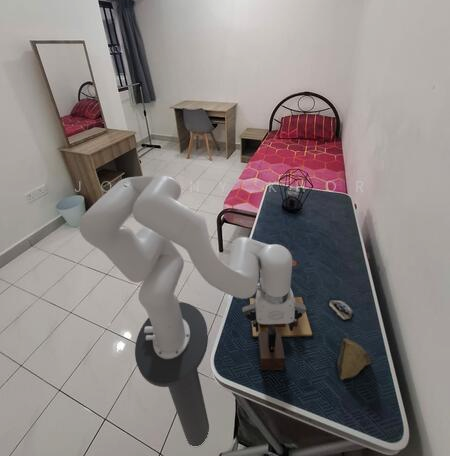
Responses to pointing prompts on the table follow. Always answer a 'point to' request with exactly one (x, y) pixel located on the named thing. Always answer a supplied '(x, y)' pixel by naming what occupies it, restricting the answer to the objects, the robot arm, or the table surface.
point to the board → (300, 330)
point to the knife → (271, 337)
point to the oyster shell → (341, 309)
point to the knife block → (270, 359)
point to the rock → (351, 359)
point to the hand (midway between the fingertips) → (273, 326)
